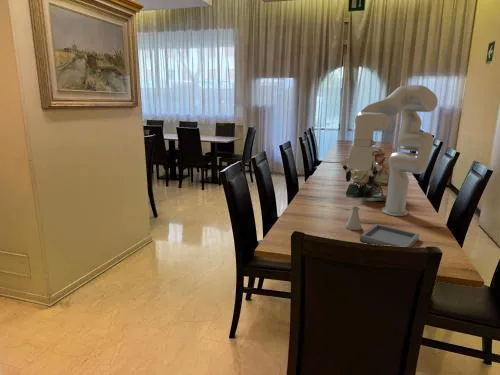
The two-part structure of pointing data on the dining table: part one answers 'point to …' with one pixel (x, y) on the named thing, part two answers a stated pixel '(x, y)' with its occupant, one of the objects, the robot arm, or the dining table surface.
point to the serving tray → (389, 236)
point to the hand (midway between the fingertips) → (359, 182)
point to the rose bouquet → (363, 177)
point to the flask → (354, 220)
